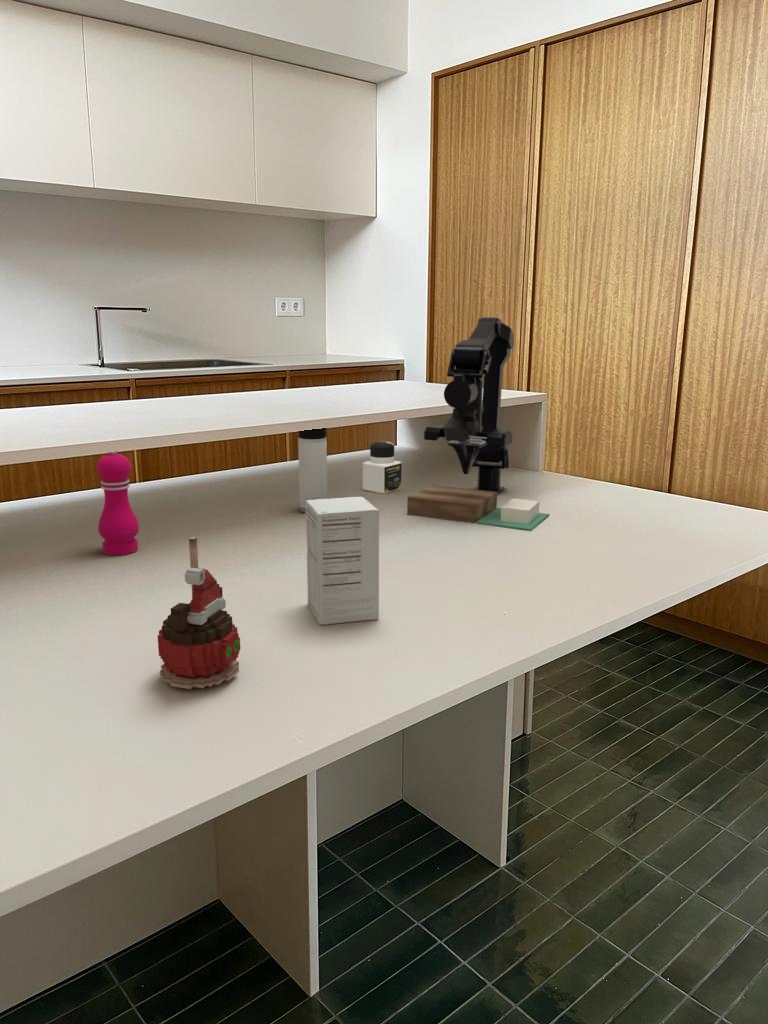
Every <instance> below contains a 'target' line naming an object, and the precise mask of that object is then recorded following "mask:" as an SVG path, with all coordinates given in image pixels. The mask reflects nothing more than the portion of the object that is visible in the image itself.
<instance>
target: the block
mask: <svg viewBox="0 0 768 1024" xmlns="http://www.w3.org/2000/svg"><path fill="white" fill-rule="evenodd" d="M500 508H501V521H506V522H514V523H522V524H529V523H530V522H531V521H532V520H533V519H534V518H535V517H536V516H537V515H539V513H540V500H539V501H538V500H531V499H523V498H512V499H510V500H509V501H507V502H506V503H505V504H503V505H502V506H501V507H500Z"/></svg>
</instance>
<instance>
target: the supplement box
mask: <svg viewBox="0 0 768 1024" xmlns="http://www.w3.org/2000/svg"><path fill="white" fill-rule="evenodd" d="M305 529H306V532H305V533H306V550H307V551H306V573H307V574H306V576H307V605H308V607H309V609H310V611H311V612H312V614H313V615H314V617H315V619H316V620H317V623H318V625H321V626H325V625H331V624H341V623H342V624H343V623H352V622H361V621H362V622H363V621H370V620H371V621H373V620H379V618H380V510H379V509H378V508H377V507H375V506H374V505H373V504H372V503H371V502H369V500H367V499H365V497H363V496H349V497H348V496H347V497H336V498H333V497H332V498H331V497H330V498H327V499H315V500H306V513H305Z"/></svg>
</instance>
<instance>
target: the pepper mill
mask: <svg viewBox="0 0 768 1024" xmlns="http://www.w3.org/2000/svg"><path fill="white" fill-rule="evenodd" d="M118 452H119V451H115V452H108V451H107V453H108V454H105V455H103V456H102V457H100V458H99V459H98V461H97V463H96V473H97V474H98V476H99V477H100V479H102V480H101V481H100V484H101V486H100V487H101V488H100V489H102V490H103V494H104V504H103V509H102V512H101V514H100V517H99V521H98V527H97V528H98V529H97V530H98V534H99V535H100V537H101V538H103V539H104V541H103V542H102V544H101V545H102V552H103V553H104V554H105V555H108V556H126V555H129V554H134V553H135V552H137V551H138V549H139V546H138V545H139V544H138V539H136V538H135V537H136V536H137V535H138V534H139V531H140V526H139V521H138V518H137V515H136V514H135V513H134V511H133V509H132V507H131V504H130V500H129V494H128V493H129V492H128V490H129V488H130V486H131V485H130V479H129V478H128V477H129V476H130V475H131V472H132V464H131V461H130V460H129V458H128V457H126V456H125V455H123V454H120V453H118Z"/></svg>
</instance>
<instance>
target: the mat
mask: <svg viewBox="0 0 768 1024" xmlns="http://www.w3.org/2000/svg"><path fill="white" fill-rule="evenodd" d="M549 516H550V513H544V512H539V515H537V516H536V517H535V518H534V519H533V520H532V521H531V522H530V523H529V524H522V523H514V522H506V521H501V507H497V508H496V509H495V510H493V511H492V512H490V513H489V514H487V515H486V516H484V517H483V518H481V519H480V520H478V521H477V522H476V523H477V524H476V523H475V524H476V525H484V526H491V527H497V528H506V529H511V530H513V529H514V530H521V531H526V532H527V531H529V532H532V531H533V530H534V529H535V528H537V526H539V525H540V524H541V523H542V522H544V521H545V520H546V519H547V518H549Z"/></svg>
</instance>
